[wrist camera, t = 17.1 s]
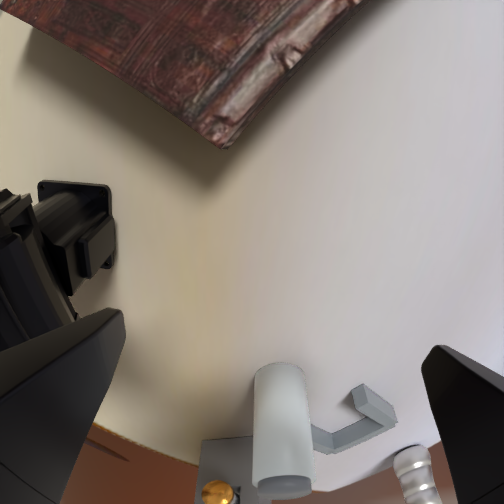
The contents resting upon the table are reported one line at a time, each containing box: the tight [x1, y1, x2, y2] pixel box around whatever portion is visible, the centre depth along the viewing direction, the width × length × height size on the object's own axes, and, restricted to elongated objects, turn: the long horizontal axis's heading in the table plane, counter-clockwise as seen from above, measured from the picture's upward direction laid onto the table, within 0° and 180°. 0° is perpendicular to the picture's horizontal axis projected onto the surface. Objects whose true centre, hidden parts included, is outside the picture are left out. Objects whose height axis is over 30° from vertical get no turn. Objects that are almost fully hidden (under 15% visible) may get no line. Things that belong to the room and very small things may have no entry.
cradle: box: [310, 384, 398, 455], centre depth 30 cm, size 9×10×2 cm
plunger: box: [201, 480, 240, 504], centre depth 27 cm, size 9×4×4 cm, turn 19°
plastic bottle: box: [393, 445, 442, 504], centre depth 30 cm, size 6×7×20 cm
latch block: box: [194, 436, 271, 504], centre depth 30 cm, size 5×8×12 cm, turn 109°
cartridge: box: [252, 363, 316, 500], centre depth 22 cm, size 5×5×12 cm
